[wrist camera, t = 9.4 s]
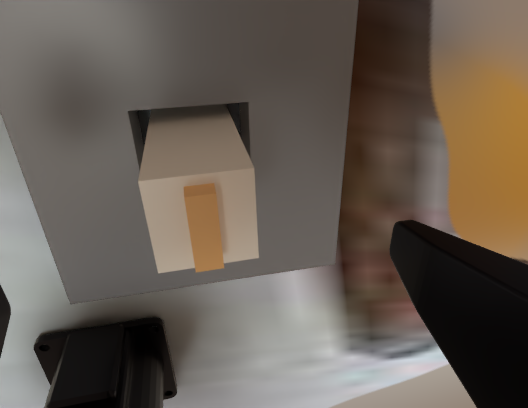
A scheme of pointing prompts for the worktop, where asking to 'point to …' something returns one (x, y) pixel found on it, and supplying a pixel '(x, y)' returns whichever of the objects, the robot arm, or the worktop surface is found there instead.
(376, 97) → the worktop surface
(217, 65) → the jack panel
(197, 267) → the plug
